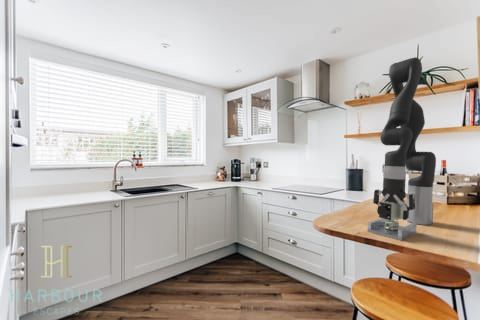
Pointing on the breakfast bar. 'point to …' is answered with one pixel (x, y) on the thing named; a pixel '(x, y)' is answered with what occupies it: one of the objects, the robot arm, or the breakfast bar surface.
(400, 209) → the pneumatic valve
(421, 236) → the breakfast bar surface
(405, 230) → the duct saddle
